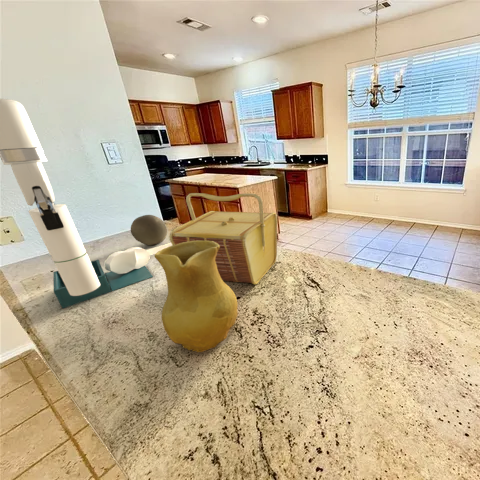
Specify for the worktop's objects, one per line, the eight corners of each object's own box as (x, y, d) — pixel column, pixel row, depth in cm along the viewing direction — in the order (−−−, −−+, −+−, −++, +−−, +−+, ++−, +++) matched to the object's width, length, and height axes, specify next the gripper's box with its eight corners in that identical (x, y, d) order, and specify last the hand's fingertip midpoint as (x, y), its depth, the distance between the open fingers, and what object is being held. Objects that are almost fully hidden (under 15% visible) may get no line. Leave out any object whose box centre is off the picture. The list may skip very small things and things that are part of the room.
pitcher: (152, 360, 61) (124, 263, 53) (198, 312, 79) (182, 233, 70) (221, 367, 59) (203, 267, 50) (252, 317, 76) (243, 235, 68)
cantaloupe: (144, 241, 134) (135, 212, 128) (174, 238, 136) (166, 210, 130) (131, 252, 121) (120, 222, 115) (164, 249, 123) (155, 218, 118)
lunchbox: (63, 310, 82) (53, 291, 80) (62, 288, 94) (53, 271, 92) (153, 278, 98) (147, 261, 96) (142, 263, 110) (137, 248, 107)
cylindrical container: (96, 280, 83) (63, 202, 73) (103, 287, 79) (68, 206, 69) (67, 290, 78) (26, 209, 68) (72, 298, 74) (30, 213, 64)
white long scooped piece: (199, 247, 129) (193, 246, 130) (197, 232, 126) (191, 231, 128) (113, 278, 96) (107, 276, 97) (108, 257, 93) (102, 255, 95)
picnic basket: (180, 286, 92) (155, 202, 80) (222, 254, 115) (207, 185, 103) (256, 294, 85) (241, 204, 73) (284, 258, 108) (276, 185, 96)
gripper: (5, 157, 67) (37, 222, 74) (-5, 159, 55) (34, 237, 62) (45, 154, 72) (72, 216, 79) (44, 156, 60) (75, 229, 67)
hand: (55, 225), depth 71 cm, fingers closed on cylindrical container, 7 cm apart
